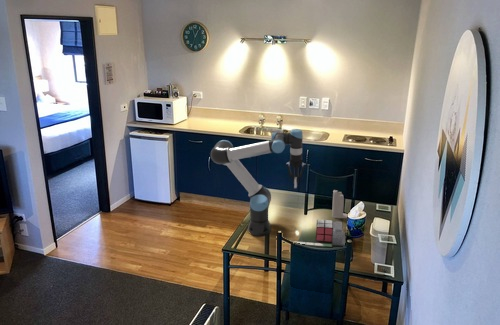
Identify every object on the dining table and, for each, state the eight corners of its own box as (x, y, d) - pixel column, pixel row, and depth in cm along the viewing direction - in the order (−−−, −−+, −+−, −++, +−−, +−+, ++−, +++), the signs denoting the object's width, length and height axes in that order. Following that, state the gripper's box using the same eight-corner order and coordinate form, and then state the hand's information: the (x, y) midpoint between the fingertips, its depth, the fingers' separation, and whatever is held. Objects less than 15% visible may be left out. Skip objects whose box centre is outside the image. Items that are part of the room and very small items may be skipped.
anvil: (332, 244, 244) (333, 231, 241) (331, 231, 259) (332, 219, 256) (345, 246, 243) (346, 232, 240) (344, 232, 258) (345, 220, 254)
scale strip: (293, 243, 247) (293, 243, 246) (293, 241, 249) (293, 241, 249) (331, 246, 242) (331, 246, 242) (331, 244, 245) (331, 244, 244)
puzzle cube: (332, 242, 248) (333, 228, 244) (315, 240, 249) (316, 226, 246) (331, 233, 257) (332, 220, 253) (316, 232, 258) (316, 219, 255)
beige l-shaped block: (353, 218, 275) (355, 192, 268) (332, 218, 275) (334, 192, 268) (350, 213, 282) (352, 187, 275) (331, 213, 282) (332, 187, 275)
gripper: (285, 155, 251) (284, 189, 260) (306, 155, 249) (305, 190, 257) (286, 151, 258) (286, 184, 266) (306, 152, 256) (305, 185, 264)
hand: (295, 187), depth 262 cm, fingers closed
